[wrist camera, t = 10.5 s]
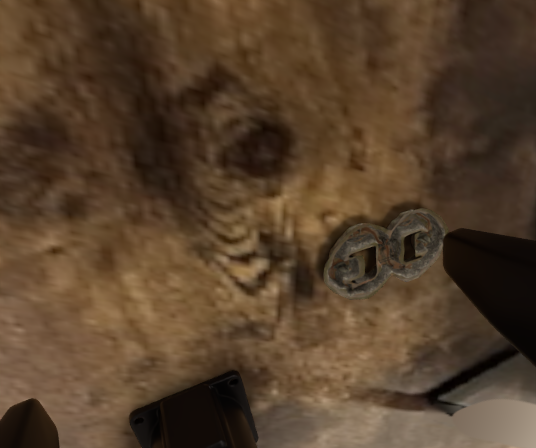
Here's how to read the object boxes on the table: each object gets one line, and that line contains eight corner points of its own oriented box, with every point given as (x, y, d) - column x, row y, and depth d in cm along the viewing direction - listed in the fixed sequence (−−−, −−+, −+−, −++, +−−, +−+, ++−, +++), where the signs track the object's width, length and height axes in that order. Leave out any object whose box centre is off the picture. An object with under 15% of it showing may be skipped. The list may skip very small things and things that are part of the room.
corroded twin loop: (435, 261, 27) (446, 269, 27) (321, 303, 26) (329, 314, 25) (438, 189, 25) (451, 196, 24) (312, 231, 23) (321, 240, 22)
